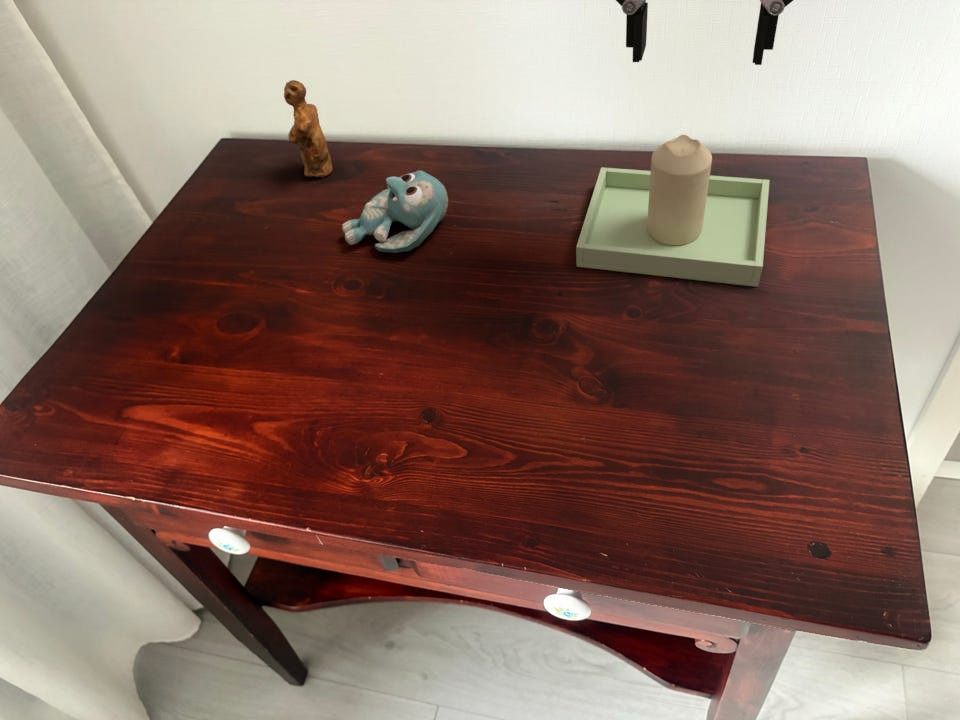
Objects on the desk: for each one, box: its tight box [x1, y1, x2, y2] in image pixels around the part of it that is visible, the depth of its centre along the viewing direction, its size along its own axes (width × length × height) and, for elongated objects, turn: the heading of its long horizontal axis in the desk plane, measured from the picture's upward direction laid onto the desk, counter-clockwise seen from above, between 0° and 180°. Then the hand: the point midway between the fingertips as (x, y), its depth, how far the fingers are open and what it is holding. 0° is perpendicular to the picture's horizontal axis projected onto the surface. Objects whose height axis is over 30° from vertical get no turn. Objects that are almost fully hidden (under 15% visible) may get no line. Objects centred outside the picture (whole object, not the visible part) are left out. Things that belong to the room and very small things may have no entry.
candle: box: [647, 134, 713, 245], centre depth 73 cm, size 6×6×10 cm
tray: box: [575, 167, 771, 288], centre depth 76 cm, size 17×13×3 cm
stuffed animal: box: [341, 169, 449, 254], centre depth 80 cm, size 11×7×12 cm
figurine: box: [283, 79, 334, 179], centre depth 87 cm, size 5×6×12 cm
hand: (697, 55), depth 63 cm, fingers open, 9 cm apart
